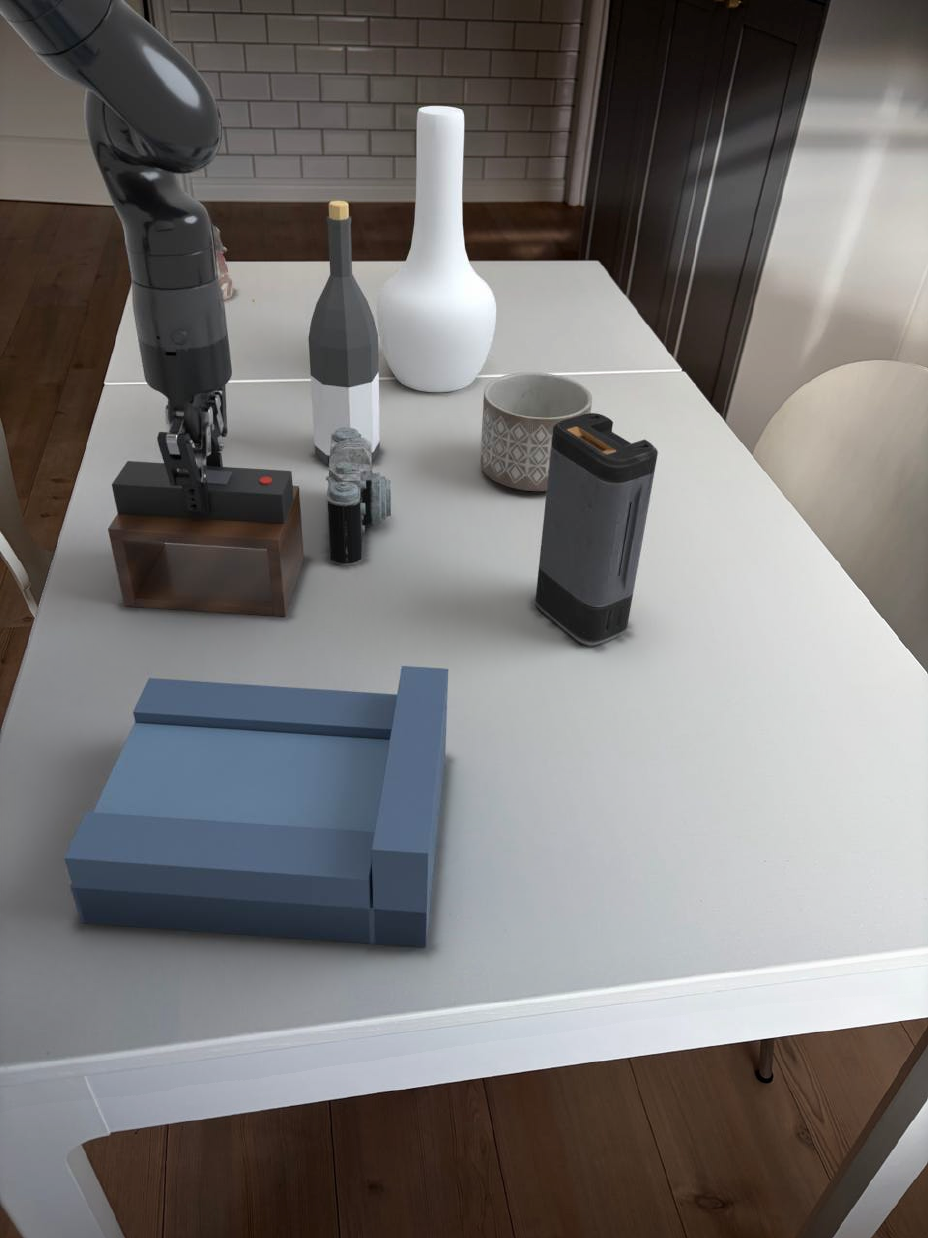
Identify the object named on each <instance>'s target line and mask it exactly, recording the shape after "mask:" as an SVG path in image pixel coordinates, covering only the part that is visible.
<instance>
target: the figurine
mask: <svg viewBox="0 0 928 1238" xmlns="http://www.w3.org/2000/svg"><path fill="white" fill-rule="evenodd" d="M212 227H213V234H214V243H215V252H216V261H217V269H218V277H219V282H220V286H221V290H222V294H223V298H224V301H226V300H229V299H230V298H231V297H232V296H233V293H234V289H233V281H232V278H231V276H230V273H229V268H228V264H227V260H226V258H225V256H224V254H225V253H227V251H228V249H227V248H226V247H225V246H224V245H223V242H222V240H221V236H220V235H221V231H220V230H219V228H218V227H217V226H215V225H214V224H212Z"/></svg>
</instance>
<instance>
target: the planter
mask: <svg viewBox="0 0 928 1238" xmlns="http://www.w3.org/2000/svg"><path fill="white" fill-rule="evenodd" d="M482 402H483V404H482V418H481V419H482V420H481V438H480V439H481V440H480V458H479V462H480V463H479V464H480V468H481V470H482V471H483V473H484V474H485V475H486V476H487V477H488V478H489V479H491V480H492V481H494V482H496V483H498V484H500V485H502V486H505V487H507V488H511V489H514V490H515V489H516V490H520V491H529V492H547V483H548V473H549V463H550V453H551V444H552V434H553V427H554V426H555V425H556V424H557V423H559V422H560V421H563V420H566V419H569V418H573V417H576V416H580V415H583V414H588V413H592V412H591V411H592V405H593V404H592V403H593V395H592V394H591V392H590V391H589V390H588V388H587V387H585V386H584V385H583V384H581V383H579V382H578V381H576V380H573V379H571V378H568V377H566V376H562V375H558V374H554V373H553V374H552V373H545V372H533V371H531V372H516V373H509V374H506V375H502V376H499V377H497V378H495V379H492V380H491V381H490V382H488V383H487V384H486V386H485V387H484V390H483V401H482Z"/></svg>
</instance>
